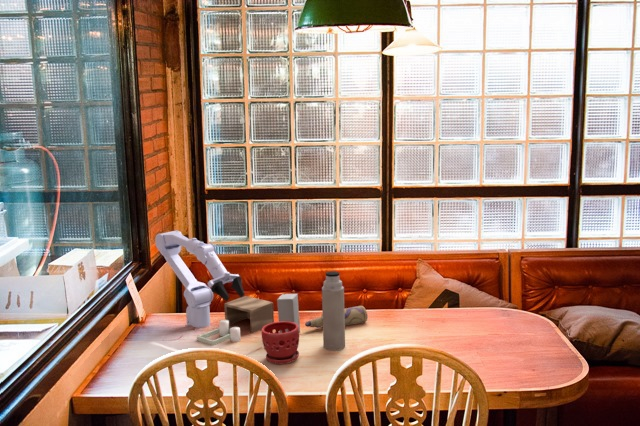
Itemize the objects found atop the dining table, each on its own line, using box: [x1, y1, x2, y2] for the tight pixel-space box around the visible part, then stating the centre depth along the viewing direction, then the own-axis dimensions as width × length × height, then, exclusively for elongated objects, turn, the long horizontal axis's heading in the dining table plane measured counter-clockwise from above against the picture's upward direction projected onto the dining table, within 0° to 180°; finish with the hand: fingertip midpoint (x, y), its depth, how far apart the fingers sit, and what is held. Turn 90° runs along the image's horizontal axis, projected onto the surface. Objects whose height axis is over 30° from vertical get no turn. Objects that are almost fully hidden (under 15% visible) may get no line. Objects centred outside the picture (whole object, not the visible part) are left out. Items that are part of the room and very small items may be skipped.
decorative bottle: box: [304, 305, 368, 329], centre depth 260 cm, size 26×8×7 cm, turn 113°
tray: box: [196, 327, 231, 346], centre depth 250 cm, size 9×13×3 cm
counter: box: [223, 295, 275, 334], centre depth 262 cm, size 15×12×10 cm
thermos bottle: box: [321, 270, 346, 351], centre depth 238 cm, size 8×8×28 cm
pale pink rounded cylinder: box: [218, 319, 230, 337], centre depth 252 cm, size 4×4×6 cm
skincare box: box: [276, 293, 301, 334], centre depth 251 cm, size 8×7×16 cm
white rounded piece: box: [229, 326, 241, 343], centre depth 246 cm, size 4×4×6 cm
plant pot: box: [260, 321, 300, 365], centre depth 229 cm, size 13×13×12 cm
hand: (235, 297), depth 246 cm, fingers open, 7 cm apart
